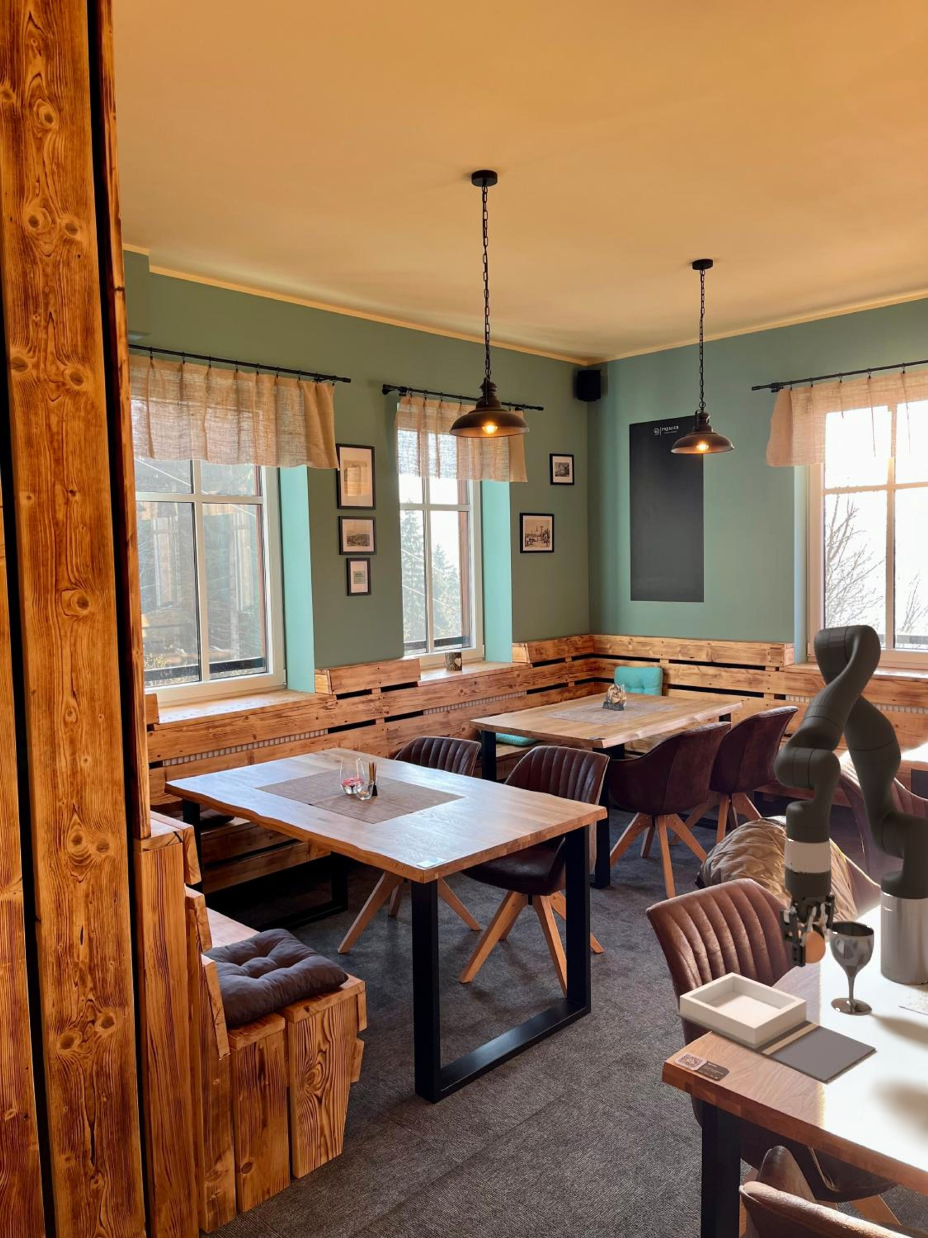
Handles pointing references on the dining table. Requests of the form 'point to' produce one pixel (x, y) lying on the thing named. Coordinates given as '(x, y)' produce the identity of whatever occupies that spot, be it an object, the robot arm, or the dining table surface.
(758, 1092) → the dining table surface
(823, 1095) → the dining table surface
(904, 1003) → the dining table surface
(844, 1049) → the mat
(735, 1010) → the tray
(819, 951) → the ball
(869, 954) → the wine glass
